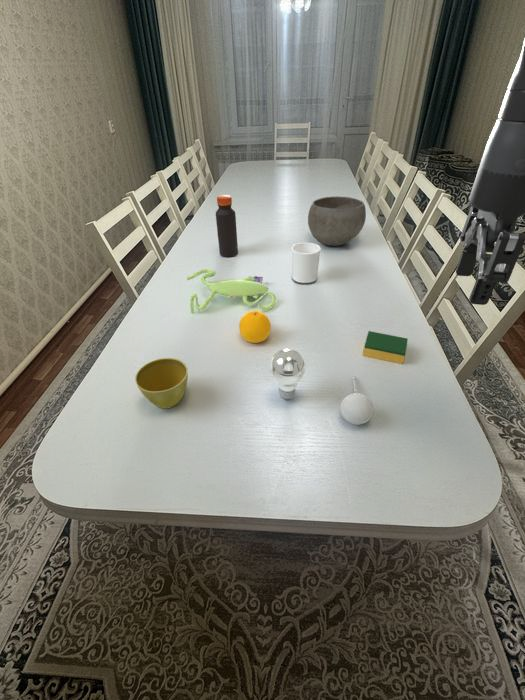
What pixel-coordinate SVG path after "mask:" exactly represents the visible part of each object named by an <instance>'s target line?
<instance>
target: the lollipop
mask: <svg viewBox="0 0 525 700" xmlns="http://www.w3.org/2000/svg"><path fill="white" fill-rule="evenodd" d="M352 385H353V393H350V394H348V395H346V396H345V397H344V398H343V400H342V401H341V403H340V408H339V412H340V414H341V416H342V418H343V419H344V420H345V421H346V422H347V423H348V422H349V423H350V424H352V425H363V424H365V423H367V422H368V421H370V419H371V418H372V417H373V415H374V412H375V411H374V410H375V407H374V403H373V402H372V400H370V398H369V397H368V396H367V395H365V394H363V393H361V392H360V393H359V392H357V384H356V376H355V375H352Z"/></svg>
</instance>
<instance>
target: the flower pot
mask: <svg viewBox="0 0 525 700" xmlns="http://www.w3.org/2000/svg"><path fill="white" fill-rule="evenodd" d="M188 369H189V368H188V366H187V365H186V363H185V362H183V361H182V360H180V359H177V358H172V357H163V358H157V359H154V360H151V361H148V362H147V363H145V364H144V365H142V366H141V367H140V368H139V369H138V371H136V374H135V377H134V380H135V381H134V382H135V385H136V386H137V388H138V390H139V391H140V393H141V394H142V396H144V397H145V398H146V399H147V400H148V401H149V402H150V403H151V404H153V405H154V406H156V407H158V408H160V409H170V408H173V407H175V406H176V405H178V404H179V403H180V402H181V400H182V398H183V396H184V395H185V391H186V389H187V384H188V378H189V374H188V373H189V371H188Z"/></svg>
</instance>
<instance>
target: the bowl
mask: <svg viewBox="0 0 525 700" xmlns="http://www.w3.org/2000/svg"><path fill="white" fill-rule="evenodd" d="M366 217H367V211H366V205H365V203H364V201H363V200H360V199H358V198H354V197H350V196H325V197H320V198H317V199H315V200H314V201H312V202H311V205H310V207H309V210H308V215H307V225H308V229H309V231H310V234H311V235H312V237H313V238H314V240H316V241H317V242H318V243H320V244H322V245H326V246H330V247H331V246H333V247H334V246H335V247H336V246H341V245H345V244H347V243H348V242H350V241H353V240H354V239H355V238H356V237H357V236H358V235H360V233H361V231H362V230H363V228H364V226H365V223H366Z"/></svg>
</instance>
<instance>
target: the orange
mask: <svg viewBox="0 0 525 700" xmlns="http://www.w3.org/2000/svg"><path fill="white" fill-rule="evenodd" d="M238 330H239V334H240V336H241V337H242V338H243V340H245V341H246V342H248V343H253V344H257V343H261V342H264V341H265V340H267V339H268V337H269V336H270V333H271V330H272V324H271V320H270V319H269V317H268V315H266V314H265V312H262V311H260V310H249V311H248V312H246V313H244V314H243V315H242V317H241V318H240V320H239V325H238Z"/></svg>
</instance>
